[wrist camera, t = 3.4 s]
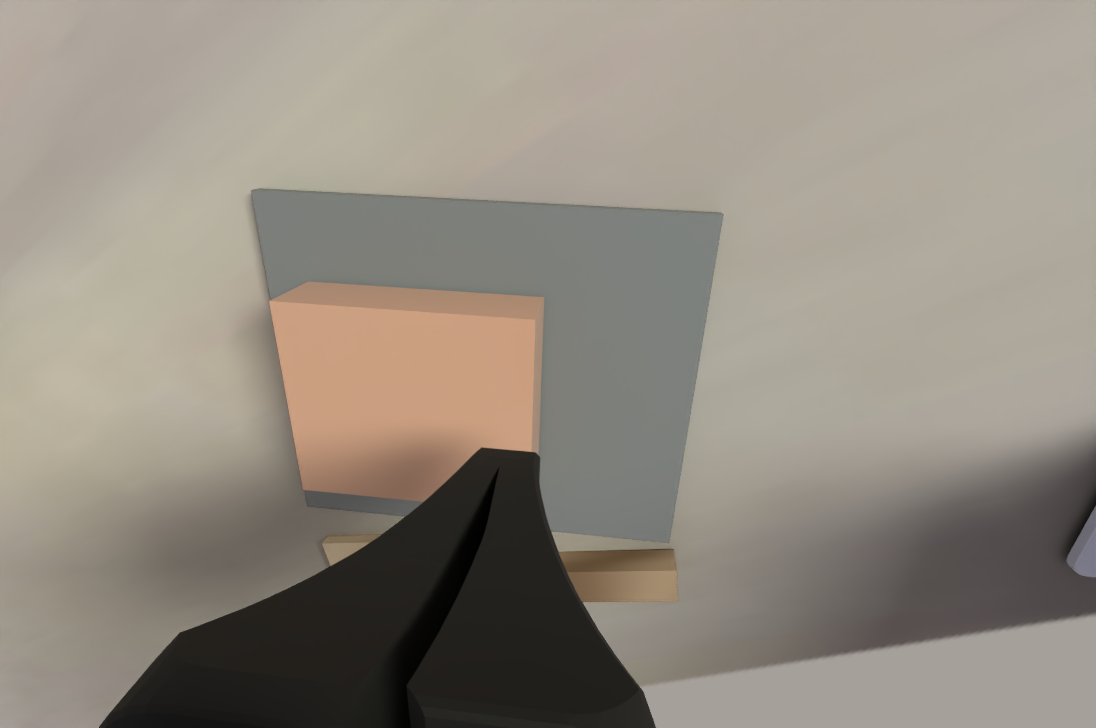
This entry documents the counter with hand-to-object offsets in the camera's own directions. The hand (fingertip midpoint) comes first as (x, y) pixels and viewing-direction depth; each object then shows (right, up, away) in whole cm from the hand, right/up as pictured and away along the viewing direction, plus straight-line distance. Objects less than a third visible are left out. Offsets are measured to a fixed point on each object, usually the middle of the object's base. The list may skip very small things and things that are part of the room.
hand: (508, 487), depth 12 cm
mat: (-1, +2, +5) cm, 6 cm away
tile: (+1, +2, +4) cm, 4 cm away
